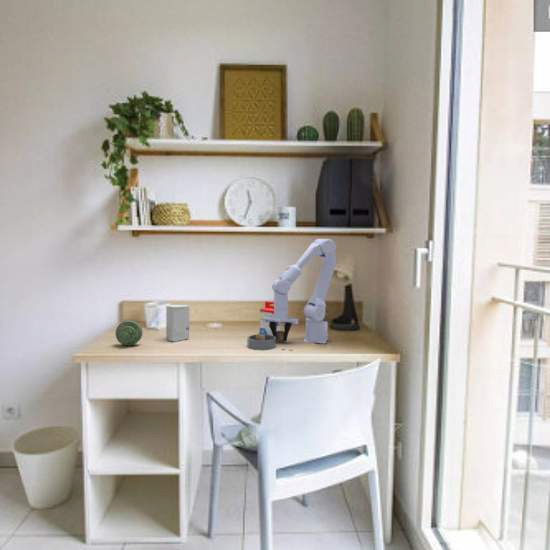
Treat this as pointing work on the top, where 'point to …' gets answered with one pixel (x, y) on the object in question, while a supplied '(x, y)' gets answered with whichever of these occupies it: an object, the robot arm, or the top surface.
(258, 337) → the walnut peg in cup
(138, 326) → the decorative artifact
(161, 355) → the top surface
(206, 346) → the top surface
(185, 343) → the top surface
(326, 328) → the robot arm
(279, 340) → the loose walnut peg
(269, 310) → the ink box
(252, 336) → the charcoal cup
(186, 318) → the skincare box
